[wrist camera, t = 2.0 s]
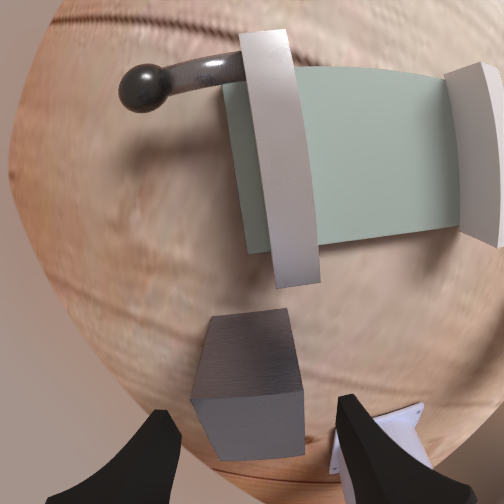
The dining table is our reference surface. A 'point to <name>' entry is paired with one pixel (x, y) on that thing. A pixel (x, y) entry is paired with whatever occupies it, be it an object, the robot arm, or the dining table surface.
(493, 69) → the base
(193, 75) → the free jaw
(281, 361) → the block
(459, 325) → the dining table surface
